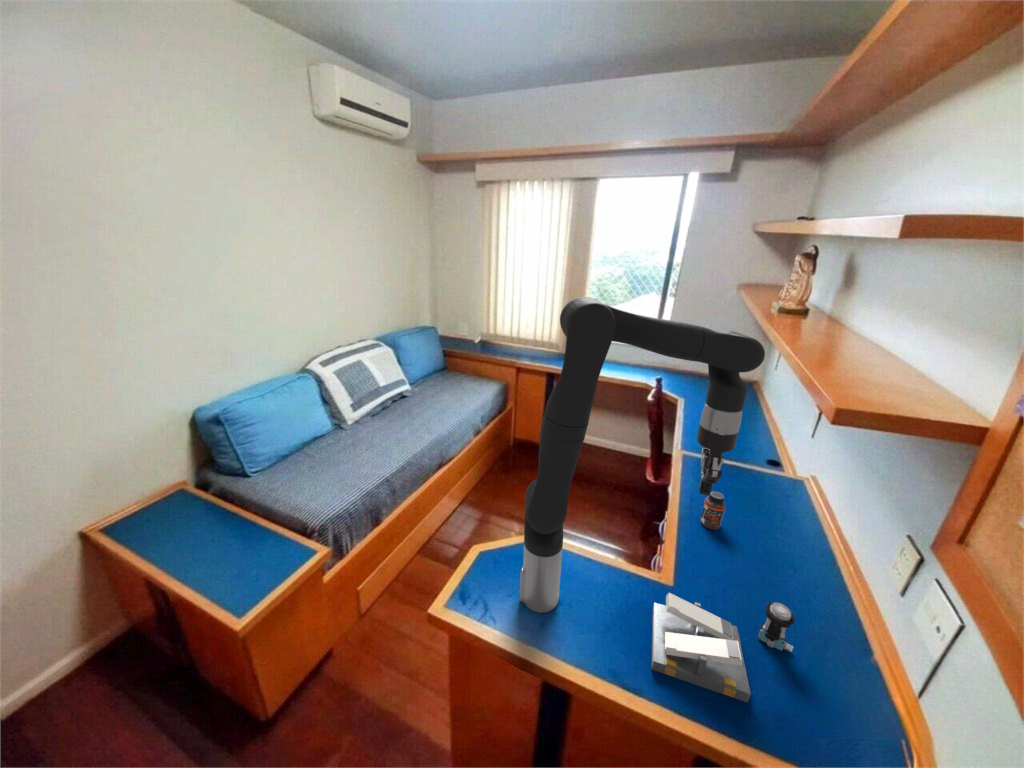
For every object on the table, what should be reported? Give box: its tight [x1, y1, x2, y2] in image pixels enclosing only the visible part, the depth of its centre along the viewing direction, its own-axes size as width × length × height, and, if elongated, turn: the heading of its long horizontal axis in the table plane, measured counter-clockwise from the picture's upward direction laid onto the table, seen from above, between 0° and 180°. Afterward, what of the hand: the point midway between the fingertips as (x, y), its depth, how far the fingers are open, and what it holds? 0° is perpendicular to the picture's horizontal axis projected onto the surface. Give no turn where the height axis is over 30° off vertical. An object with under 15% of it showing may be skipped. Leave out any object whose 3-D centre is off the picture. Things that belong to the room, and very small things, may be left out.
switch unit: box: [651, 601, 752, 703], centre depth 84 cm, size 18×15×7 cm
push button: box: [757, 601, 796, 653], centre depth 85 cm, size 7×5×10 cm
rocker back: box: [665, 592, 733, 640], centre depth 86 cm, size 14×4×2 cm, turn 71°
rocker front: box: [665, 632, 742, 666], centre depth 80 cm, size 14×4×2 cm, turn 69°
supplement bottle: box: [699, 491, 726, 530], centre depth 122 cm, size 6×6×11 cm
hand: (704, 492), depth 89 cm, fingers closed
